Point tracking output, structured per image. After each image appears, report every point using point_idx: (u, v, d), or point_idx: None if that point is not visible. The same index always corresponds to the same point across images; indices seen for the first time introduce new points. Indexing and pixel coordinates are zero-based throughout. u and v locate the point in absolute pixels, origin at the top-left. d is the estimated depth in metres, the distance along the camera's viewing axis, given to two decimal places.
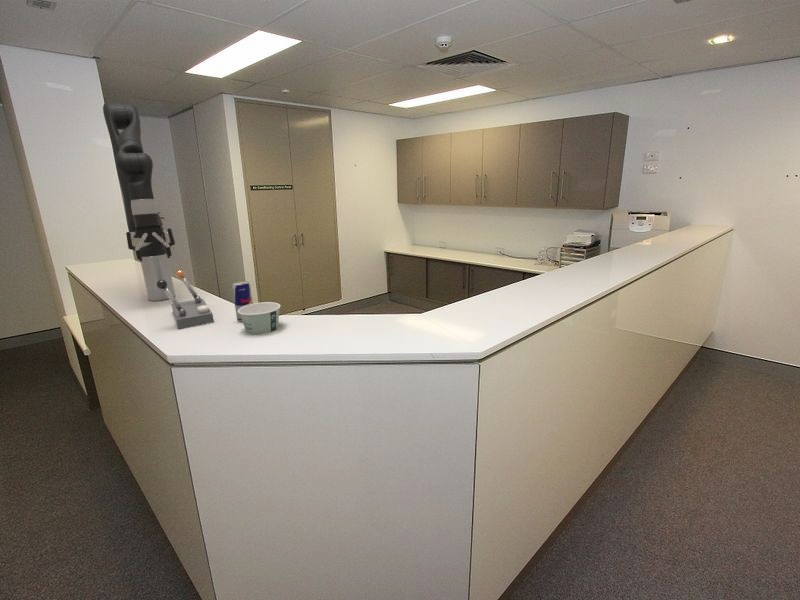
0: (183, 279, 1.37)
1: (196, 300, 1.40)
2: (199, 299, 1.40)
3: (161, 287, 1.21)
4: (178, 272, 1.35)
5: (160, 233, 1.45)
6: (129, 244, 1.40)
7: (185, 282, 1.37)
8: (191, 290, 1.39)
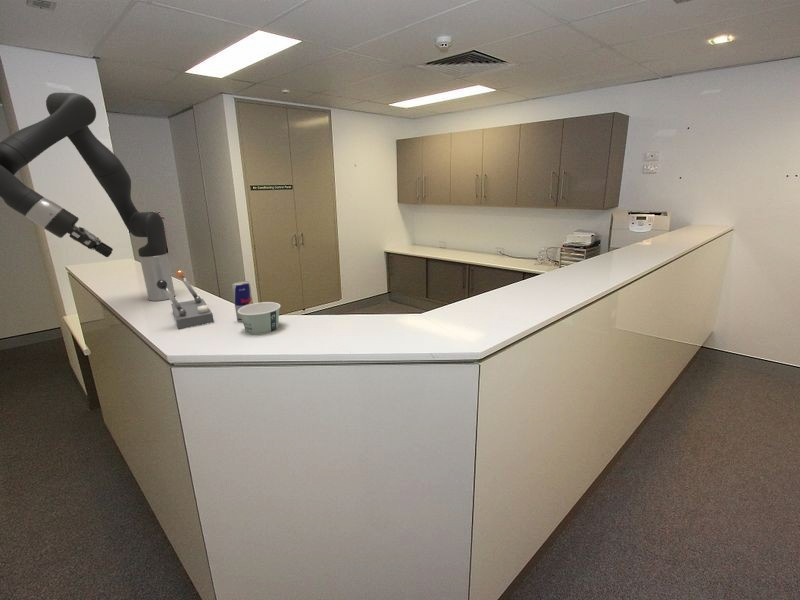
0: (183, 279, 1.37)
1: (196, 300, 1.40)
2: (199, 299, 1.40)
3: (161, 287, 1.21)
4: (178, 272, 1.35)
5: None
6: None
7: (185, 282, 1.37)
8: (191, 290, 1.39)
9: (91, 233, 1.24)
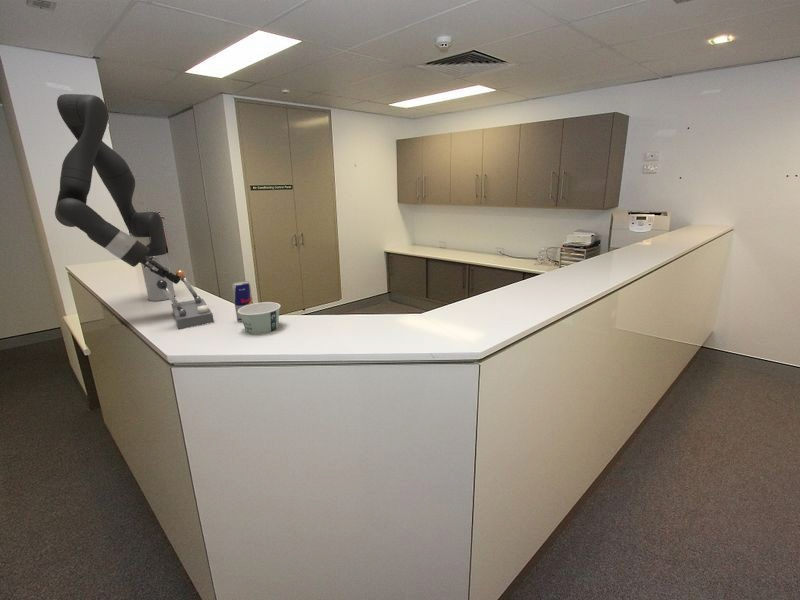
0: (183, 279, 1.37)
1: (196, 300, 1.40)
2: (199, 299, 1.40)
3: (161, 287, 1.21)
4: (178, 272, 1.35)
5: (147, 266, 1.28)
6: None
7: (185, 282, 1.37)
8: (191, 290, 1.39)
9: (160, 263, 1.34)
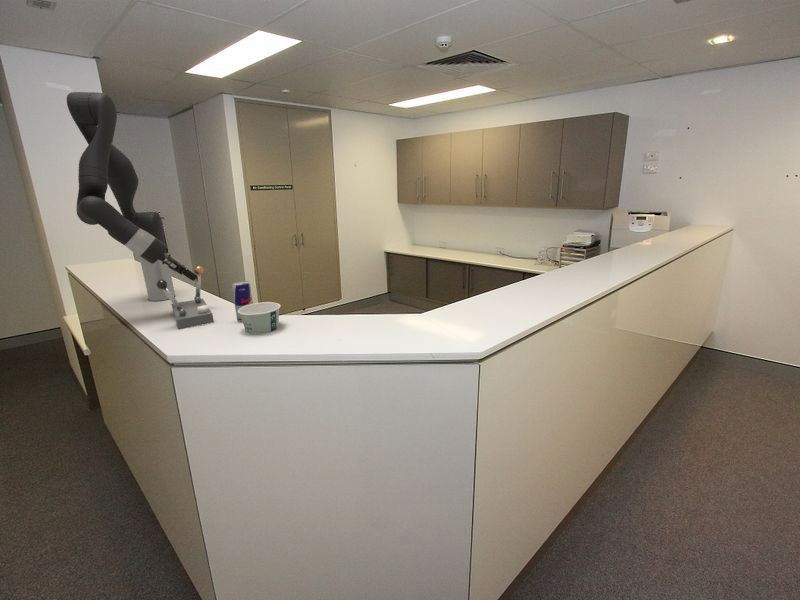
0: (198, 275, 1.39)
1: (196, 299, 1.39)
2: (199, 300, 1.40)
3: (161, 287, 1.21)
4: (199, 267, 1.38)
5: (165, 263, 1.31)
6: None
7: (198, 279, 1.39)
8: (198, 288, 1.40)
9: None
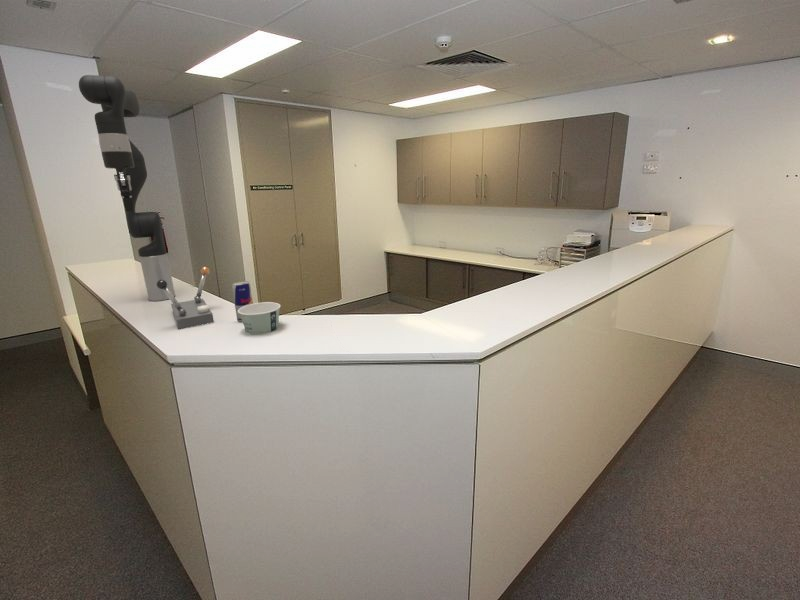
0: (203, 276, 1.40)
1: (196, 299, 1.39)
2: (199, 300, 1.40)
3: (161, 287, 1.21)
4: (205, 268, 1.39)
5: (117, 176, 1.20)
6: None
7: (202, 279, 1.40)
8: (200, 289, 1.40)
9: None
